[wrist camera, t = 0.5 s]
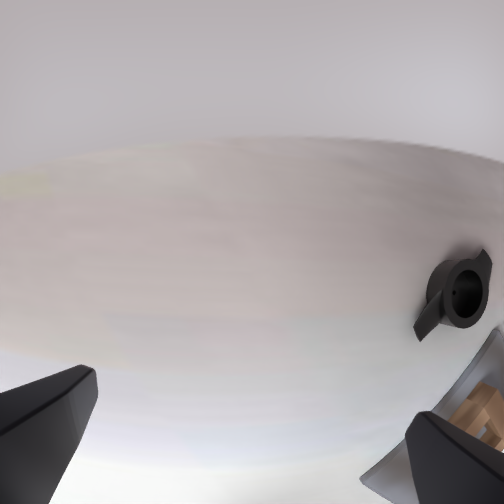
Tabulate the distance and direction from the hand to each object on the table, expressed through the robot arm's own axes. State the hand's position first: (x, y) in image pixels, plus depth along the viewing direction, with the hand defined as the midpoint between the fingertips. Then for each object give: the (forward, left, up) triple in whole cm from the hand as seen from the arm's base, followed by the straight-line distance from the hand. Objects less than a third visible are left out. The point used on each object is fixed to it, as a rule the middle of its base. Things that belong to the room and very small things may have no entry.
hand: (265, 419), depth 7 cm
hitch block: (+6, -26, -15) cm, 31 cm away
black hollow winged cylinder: (+14, -11, -16) cm, 24 cm away
